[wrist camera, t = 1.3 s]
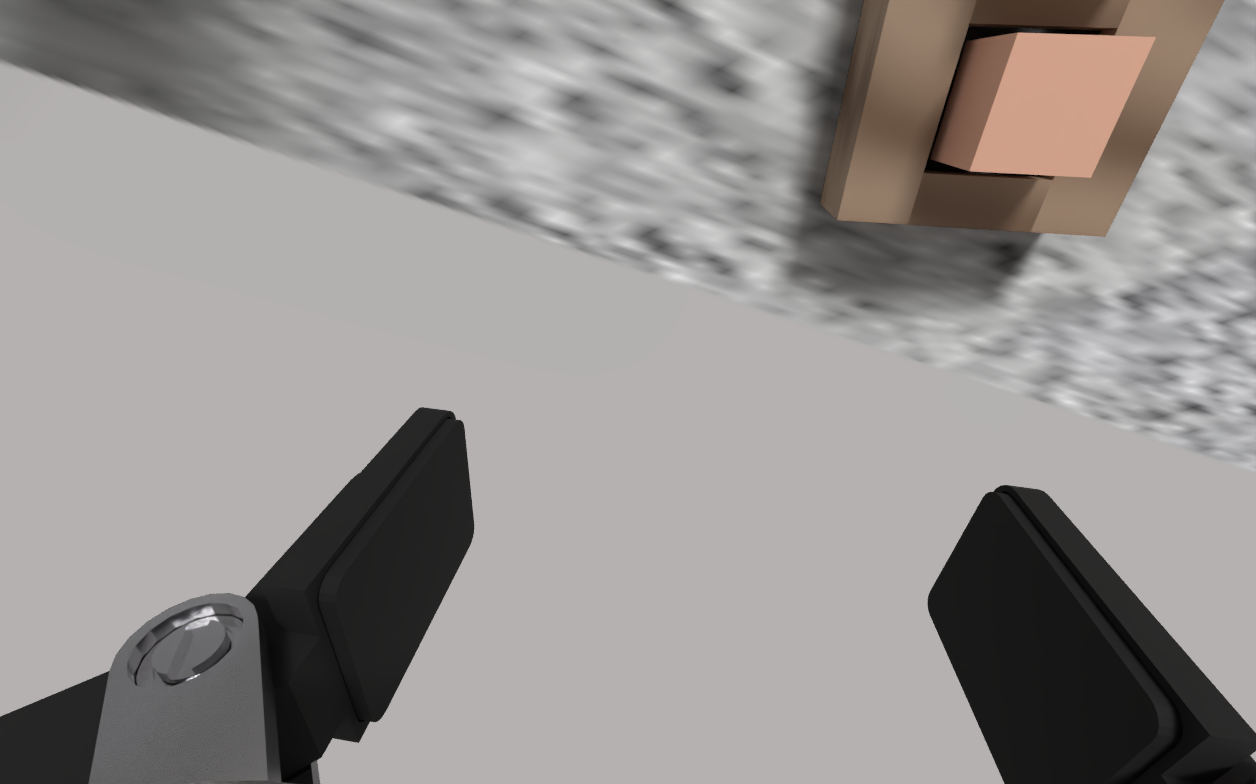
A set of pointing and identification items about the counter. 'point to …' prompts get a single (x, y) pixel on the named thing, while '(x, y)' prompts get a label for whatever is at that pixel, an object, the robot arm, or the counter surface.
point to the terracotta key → (1038, 102)
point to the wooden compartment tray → (915, 97)
